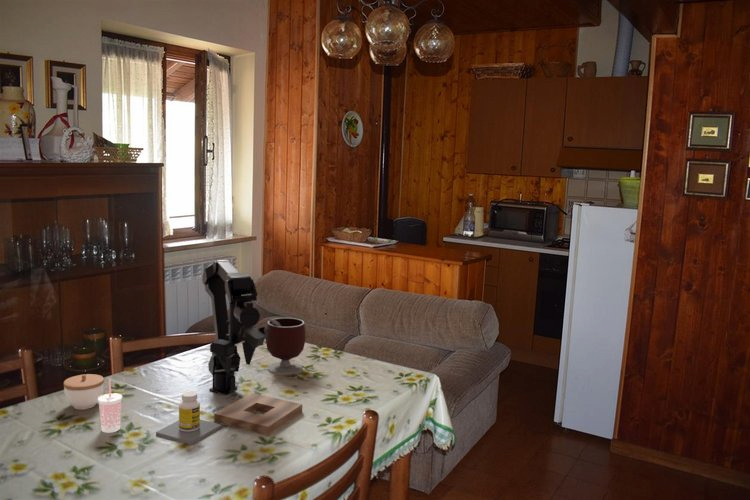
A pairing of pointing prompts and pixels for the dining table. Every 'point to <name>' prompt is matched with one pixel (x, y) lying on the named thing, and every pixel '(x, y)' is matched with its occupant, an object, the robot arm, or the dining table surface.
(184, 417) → the supplement bottle
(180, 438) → the pad
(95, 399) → the lidded jar
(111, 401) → the beverage cup
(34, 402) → the dining table surface
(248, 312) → the robot arm
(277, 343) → the mate gourd
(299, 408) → the holder block
